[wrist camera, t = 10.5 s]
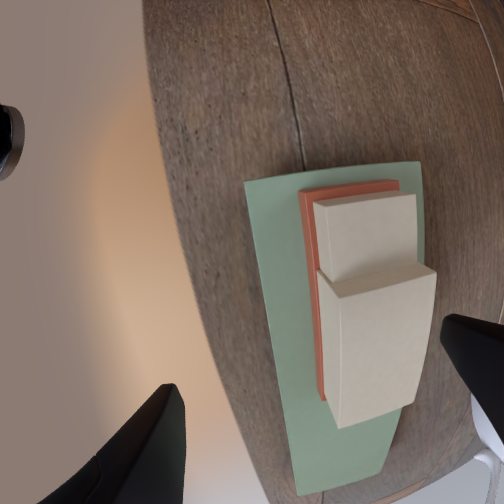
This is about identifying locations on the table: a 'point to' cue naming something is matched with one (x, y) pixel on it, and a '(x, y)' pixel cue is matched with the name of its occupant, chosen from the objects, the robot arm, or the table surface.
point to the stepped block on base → (366, 296)
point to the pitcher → (488, 448)
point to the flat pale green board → (301, 326)
